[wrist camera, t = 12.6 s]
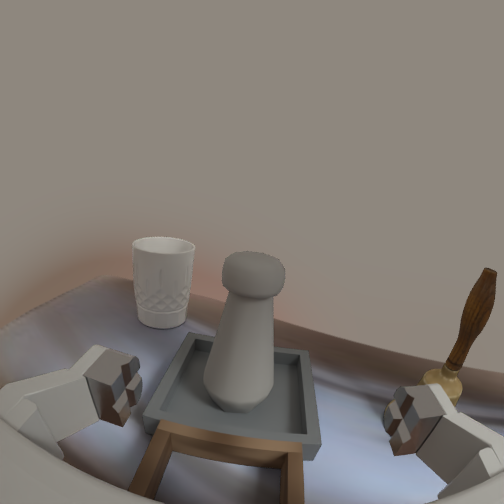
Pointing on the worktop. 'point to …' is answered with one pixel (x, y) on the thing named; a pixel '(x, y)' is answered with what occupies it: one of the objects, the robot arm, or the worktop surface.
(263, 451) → the collar
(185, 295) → the white cup
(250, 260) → the salt shaker
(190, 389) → the tray
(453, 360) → the hand bell
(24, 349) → the worktop surface
